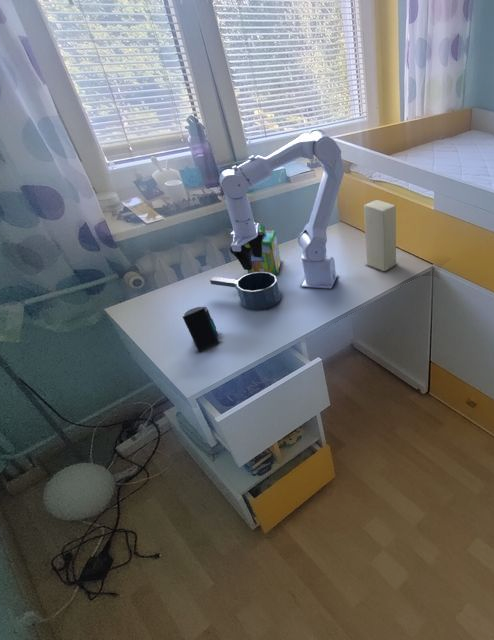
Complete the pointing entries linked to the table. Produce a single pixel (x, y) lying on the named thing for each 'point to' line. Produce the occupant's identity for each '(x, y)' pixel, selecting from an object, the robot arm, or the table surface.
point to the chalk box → (266, 254)
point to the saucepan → (254, 289)
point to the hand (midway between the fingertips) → (253, 262)
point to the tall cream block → (380, 234)
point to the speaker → (201, 327)
